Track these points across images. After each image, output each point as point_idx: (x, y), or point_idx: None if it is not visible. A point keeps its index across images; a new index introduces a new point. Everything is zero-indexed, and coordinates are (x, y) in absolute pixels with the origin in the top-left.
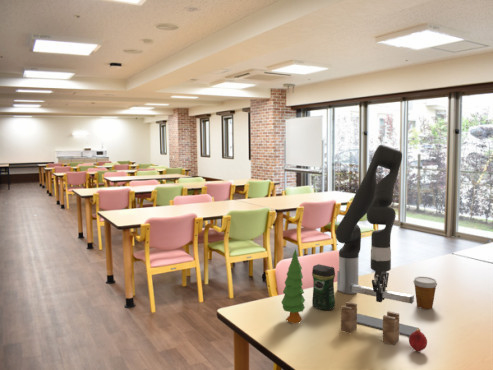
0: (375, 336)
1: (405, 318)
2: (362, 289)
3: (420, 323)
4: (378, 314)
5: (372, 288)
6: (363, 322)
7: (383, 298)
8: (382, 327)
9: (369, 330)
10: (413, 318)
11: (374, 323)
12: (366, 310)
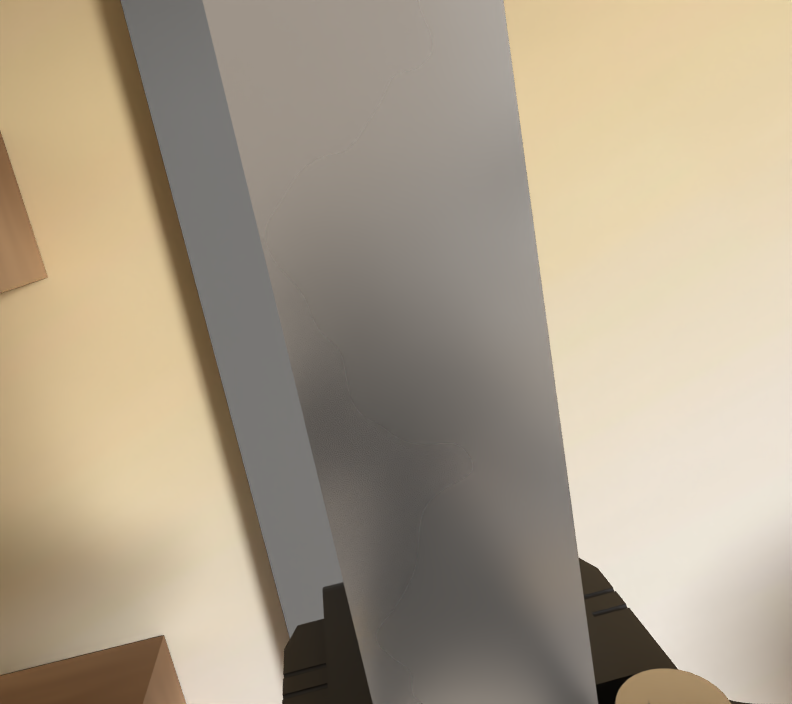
0: (35, 559)
1: (718, 517)
2: (268, 246)
3: (689, 669)
4: (636, 244)
5: (505, 556)
6: (224, 273)
7: None
8: (278, 514)
9: (120, 428)
10: (767, 568)
11: None
12: (661, 47)
